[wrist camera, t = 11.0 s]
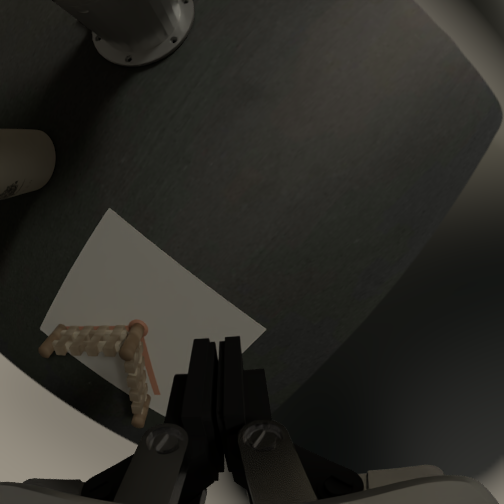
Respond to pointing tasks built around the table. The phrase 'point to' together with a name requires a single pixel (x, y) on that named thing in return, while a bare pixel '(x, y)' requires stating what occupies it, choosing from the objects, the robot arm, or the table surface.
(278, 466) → the robot arm
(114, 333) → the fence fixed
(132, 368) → the fence gate
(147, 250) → the card
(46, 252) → the table surface
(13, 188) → the travel mug
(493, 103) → the table surface
